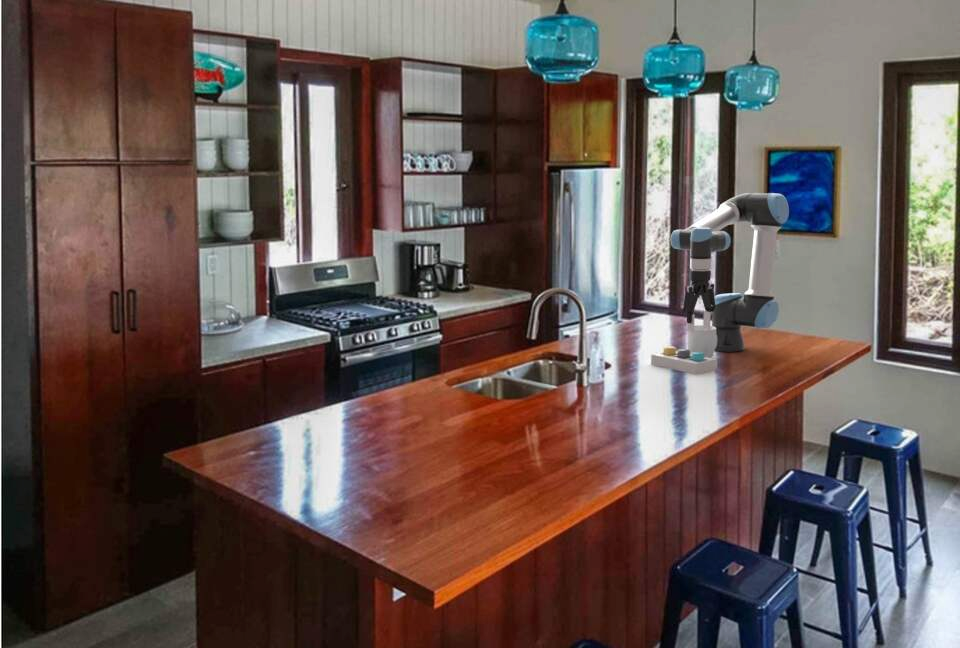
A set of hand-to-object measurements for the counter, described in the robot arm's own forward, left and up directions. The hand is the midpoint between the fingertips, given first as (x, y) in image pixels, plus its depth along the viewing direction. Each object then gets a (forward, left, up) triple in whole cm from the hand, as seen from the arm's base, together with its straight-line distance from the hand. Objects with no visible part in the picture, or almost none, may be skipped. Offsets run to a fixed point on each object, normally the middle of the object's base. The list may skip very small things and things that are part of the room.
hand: (698, 330), depth 332 cm
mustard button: (0, -14, -13) cm, 19 cm away
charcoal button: (0, -7, -13) cm, 15 cm away
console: (0, -7, -15) cm, 17 cm away
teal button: (0, 0, -13) cm, 13 cm away
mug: (-16, -11, -16) cm, 25 cm away
